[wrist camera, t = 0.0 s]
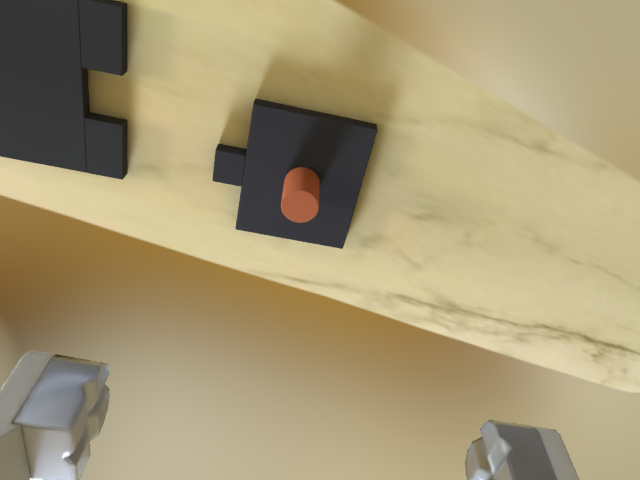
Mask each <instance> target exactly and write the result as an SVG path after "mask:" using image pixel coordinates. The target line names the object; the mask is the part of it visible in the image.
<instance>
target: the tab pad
mask: <svg viewBox="0 0 640 480" xmlns="http://www.w3.org/2000/svg"><path fill="white" fill-rule="evenodd" d="M376 133H377V126H376V124H373V123H368V122H364V121H359V120H354V119H349V118H344V117H340V116H335V115H330V114H325V113H321V112H316V111H311V110H306V109H302V108H297V107H292V106H287V105H282V104H278V103H273V102H268V101H263V100H259V99H255V101H254V104H253V110H252V117H251V124H250V131H249V138H248V145H247V149H242V148H237V147H232V146H227V145H222V144H218V146H217V148H216V153H215V162H214V172H213V181H215V182H221V183H226V184H231V185H236V186H242V187H241V194H240V201H239V208H238V215H237V222H236V229H237V230H242V231H248V232H253V233H259V234H264V235H270V236H275V237H281V238H286V239H292V240H297V241H303V242H308V243H314V244H319V245H325V246H330V247H336V248H341V249H342V248H343V246H344V242H345V239H346V236H347V232H348V229H349V225H350V222H351V219H352V215H353V212H354V208H355V205H356V201H357V198H358V195H359V191H360V188H361V184H362V181H363V177H364V174H365V171H366V167H367V164H368V160H369V157H370V153H371V150H372V147H373V143H374V140H375V136H376Z"/></svg>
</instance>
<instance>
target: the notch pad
mask: <svg viewBox="0 0 640 480" xmlns="http://www.w3.org/2000/svg"><path fill="white" fill-rule="evenodd" d="M88 69H91V70H96V71H101V72H106V73H110V74H115V75H120V76H123V75H124V74H125V73H126V72H127V4H126V3H123V2H118V1H114V0H0V156H1V157H7V158H12V159H17V160H23V161H28V162H33V163H39V164H44V165H49V166H55V167H60V168H65V169H71V170H76V171H81V172H87V173H91V174H96V175H102V176H107V177H112V178H118V179H123V178H124V177H125V176H126V174H127V120H125V119H120V118H115V117H110V116H105V115H100V114H95V113H89V91H88Z"/></svg>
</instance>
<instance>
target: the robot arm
mask: <svg viewBox="0 0 640 480" xmlns="http://www.w3.org/2000/svg"><path fill="white" fill-rule="evenodd" d="M108 375H109V370H108V364H106V363H102V362H96V361H91V360H85V359H79V358H74V357H68V356H62V355H57V354H50V353H44V352H38V351H32V350H30V351H28V352H27V353H26V354H25V355H24V356H22V358H21V359H20V361H19V362H18V364H17V365H16V367H15V368H14V370H13V371H12V373H11V374H10V376H9V377H8V379H7V381H6V382H5V384H4V385H3V387H2V388H1V390H0V480H80V478H81V476H82V473H83V471H84V469H85V466H86V464H87V462H88V459H89V457H90V441H91V440H92V439H93V438H95V437H96V436H97V435H99V433H100V431H101V428H102V426H103V423H104V420H105V416H106V413H107V409H108V404H109V388H108V387H107V386H106V385H105V382H106V380H107V378H108ZM480 430H481V434H482V437H480V438H478V439H477V440H474V441H473V442H472V443H471V445H470V447H469V449H468V450H467V455H466V461H465V467H466V476H467V480H579V477H578V475H577V473H576V470H575V468H574V466H573V463H572V461H571V459H570V457H569V454H568V452H567V449H566V447H565V445H564V442H563V440H562V438H561V436H560V434H559V433H558V432H557V431H556V430H554V429H548V428H541V427H534V426H530V425H524V424H517V423H509V422H502V421H495V420H489V421H487V422H485V423H484V425H483V426H482V427H481V429H480Z"/></svg>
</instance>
